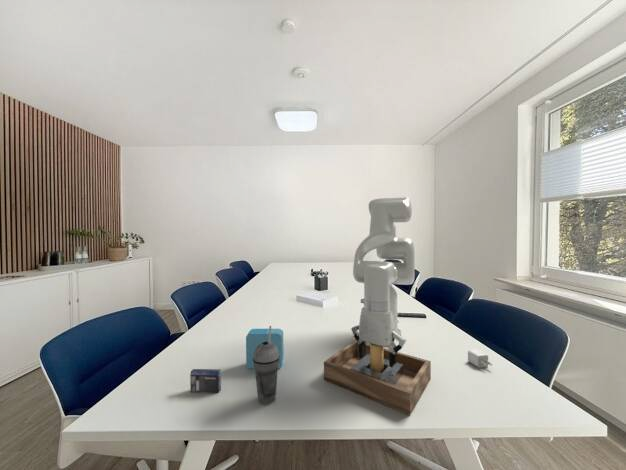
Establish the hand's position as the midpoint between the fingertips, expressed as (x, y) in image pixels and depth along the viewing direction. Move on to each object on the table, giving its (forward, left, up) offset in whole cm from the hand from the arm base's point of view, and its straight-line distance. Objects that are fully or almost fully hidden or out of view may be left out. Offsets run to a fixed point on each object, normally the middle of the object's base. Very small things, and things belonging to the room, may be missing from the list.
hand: (377, 360), depth 80 cm
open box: (0, 0, -6) cm, 6 cm away
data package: (+15, -34, -6) cm, 38 cm away
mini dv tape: (+35, -37, -6) cm, 51 cm away
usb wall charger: (-28, +25, -6) cm, 38 cm away
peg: (0, 0, -5) cm, 5 cm away
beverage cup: (+27, -20, -6) cm, 34 cm away
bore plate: (0, 0, -6) cm, 6 cm away
